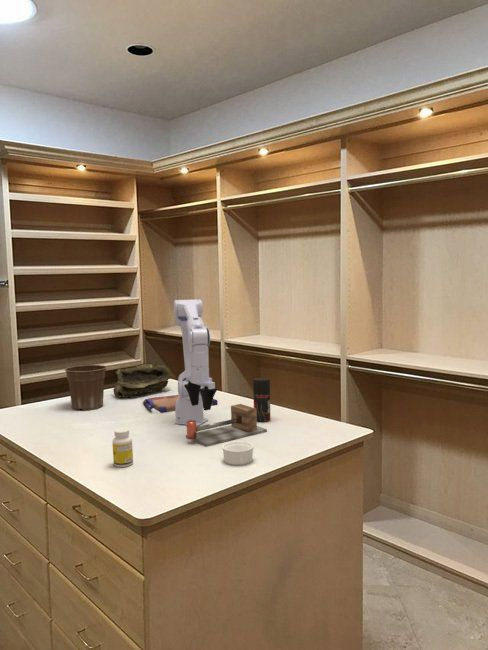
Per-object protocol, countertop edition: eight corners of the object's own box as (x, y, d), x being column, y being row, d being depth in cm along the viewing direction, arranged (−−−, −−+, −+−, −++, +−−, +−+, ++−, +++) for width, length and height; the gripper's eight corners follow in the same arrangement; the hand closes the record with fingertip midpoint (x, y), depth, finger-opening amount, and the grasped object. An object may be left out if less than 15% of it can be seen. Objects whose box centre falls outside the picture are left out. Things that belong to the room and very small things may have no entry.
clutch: (219, 406, 217) (199, 396, 234) (218, 394, 217) (199, 386, 234) (152, 416, 204) (136, 405, 221) (152, 403, 204) (136, 393, 221)
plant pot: (95, 400, 229) (93, 362, 228) (116, 406, 218) (114, 367, 217) (59, 407, 218) (57, 368, 216) (79, 414, 207) (77, 372, 205)
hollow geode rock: (169, 398, 250) (158, 372, 258) (179, 382, 242) (168, 356, 250) (112, 406, 233) (102, 378, 241) (121, 390, 225) (111, 361, 233)
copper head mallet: (190, 439, 166) (189, 423, 166) (185, 437, 169) (184, 421, 168) (237, 429, 177) (237, 413, 177) (232, 427, 179) (231, 411, 179)
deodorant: (269, 422, 189) (268, 380, 188) (252, 422, 191) (251, 380, 189) (271, 418, 195) (271, 377, 194) (255, 417, 196) (254, 377, 195)
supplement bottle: (115, 461, 153) (113, 427, 152) (134, 460, 154) (132, 426, 153) (112, 468, 148) (110, 433, 147) (132, 467, 148) (130, 432, 147)
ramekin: (260, 462, 151) (259, 446, 150) (233, 468, 146) (232, 453, 145) (242, 453, 158) (242, 439, 158) (216, 459, 153) (216, 444, 153)
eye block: (205, 446, 165) (204, 421, 164) (185, 437, 174) (185, 413, 173) (266, 431, 179) (266, 408, 178) (245, 424, 188) (244, 401, 188)
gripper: (222, 367, 168) (223, 409, 169) (198, 361, 180) (199, 401, 181) (203, 370, 164) (204, 413, 165) (180, 363, 176) (181, 404, 177)
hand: (200, 407), depth 173 cm, fingers open, 7 cm apart
